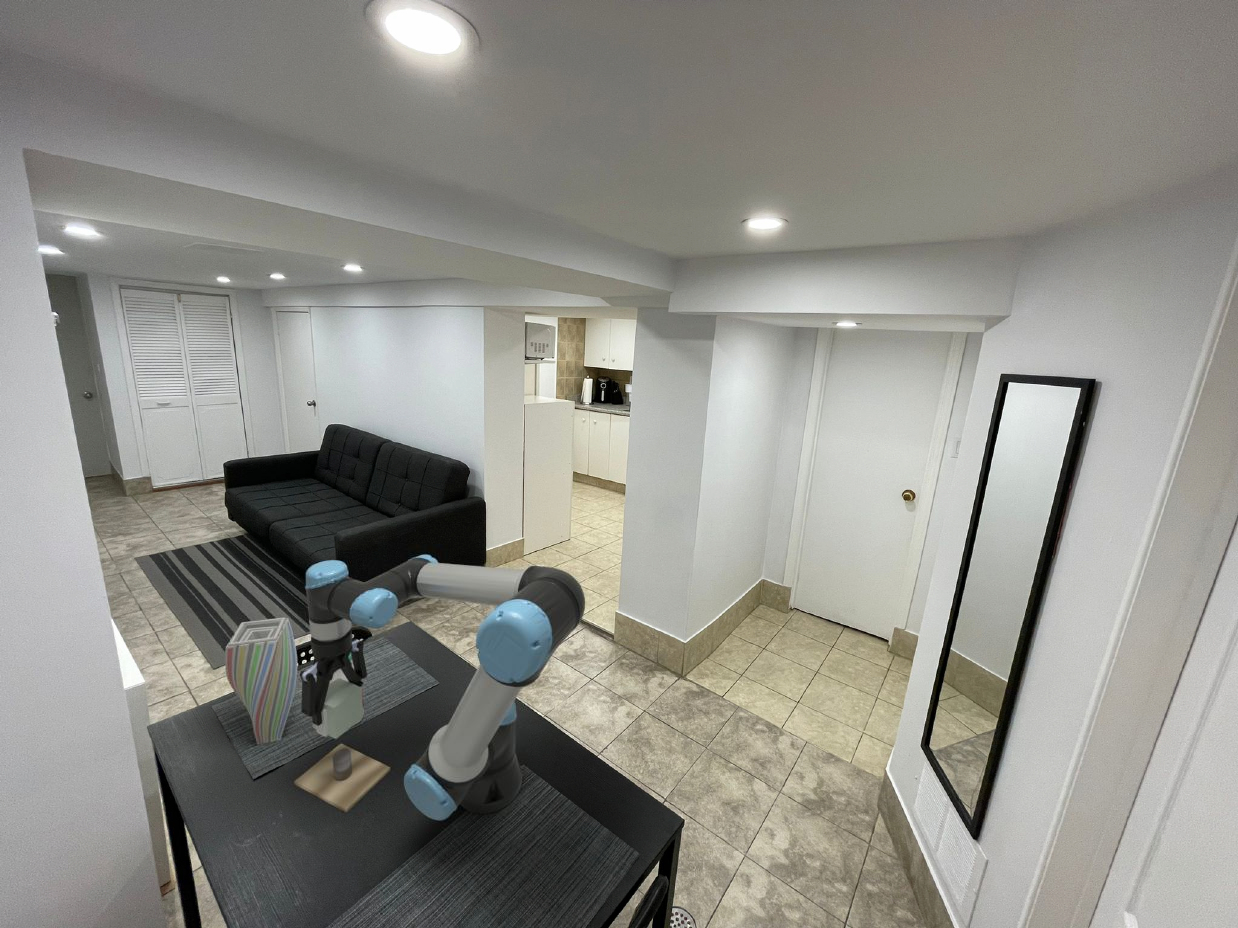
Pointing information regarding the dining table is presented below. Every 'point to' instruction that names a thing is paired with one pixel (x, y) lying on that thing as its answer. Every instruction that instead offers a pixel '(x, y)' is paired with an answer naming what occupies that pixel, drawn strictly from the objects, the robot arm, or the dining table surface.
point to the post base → (346, 787)
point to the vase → (264, 673)
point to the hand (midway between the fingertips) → (338, 721)
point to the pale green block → (342, 707)
